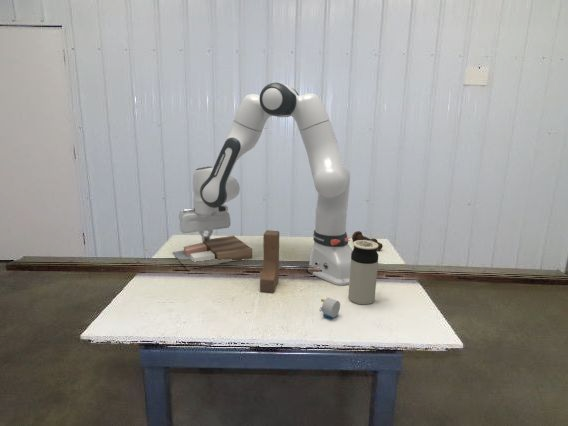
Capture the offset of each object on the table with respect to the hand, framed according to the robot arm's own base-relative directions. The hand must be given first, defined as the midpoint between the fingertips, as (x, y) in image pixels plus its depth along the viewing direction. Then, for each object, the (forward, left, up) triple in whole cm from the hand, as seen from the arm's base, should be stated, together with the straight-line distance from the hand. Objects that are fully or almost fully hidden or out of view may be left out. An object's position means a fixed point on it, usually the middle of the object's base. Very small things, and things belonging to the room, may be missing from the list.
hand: (206, 240), depth 149 cm
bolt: (-24, -66, -6) cm, 70 cm away
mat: (-5, +6, -5) cm, 9 cm away
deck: (-5, -7, -5) cm, 10 cm away
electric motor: (-64, -14, -6) cm, 66 cm away
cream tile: (-9, +5, -5) cm, 11 cm away
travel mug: (-61, -29, -5) cm, 68 cm away
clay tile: (0, +4, -4) cm, 6 cm away
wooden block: (-40, -8, -5) cm, 41 cm away
